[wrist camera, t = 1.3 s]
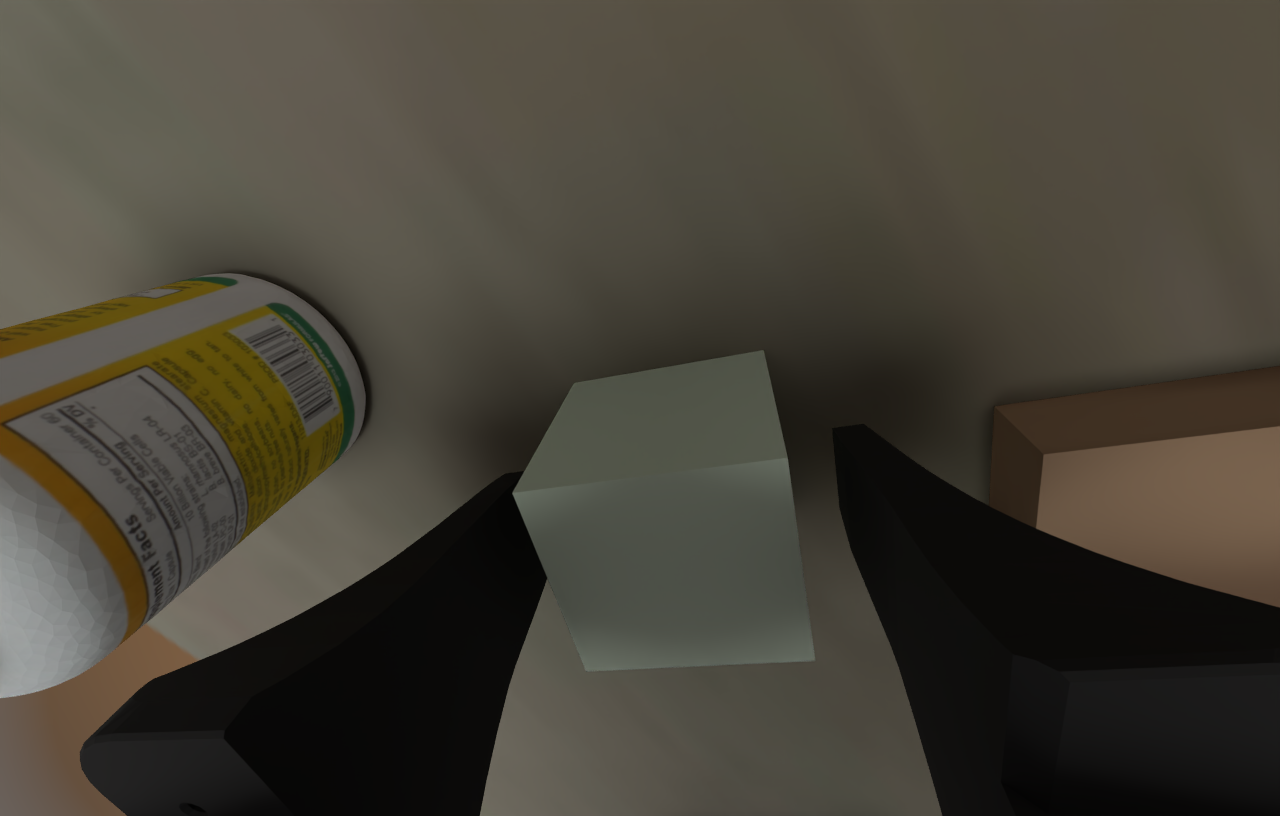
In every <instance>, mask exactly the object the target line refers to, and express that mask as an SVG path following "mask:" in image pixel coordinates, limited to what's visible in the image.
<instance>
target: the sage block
mask: <svg viewBox="0 0 1280 816" xmlns="http://www.w3.org/2000/svg"><path fill="white" fill-rule="evenodd" d="M512 494H513V496H514V498H515V501H516V503H517V506H518V508H519V510H520V513H521V515H522V518H523V520H524V523H525V525H526V527H527V530H528V532H529V535H530V537H531V539H532V542H533V544H534V547H535V549H536V552H537V554H538V556H539V559H540V561H541V564H542V566H543V568H544V571H545V573H546V576H547V578H548V581H549V583H550V585H551V588H552V590H553V593H554V595H555V597H556V600H557V602H558V605H559V607H560V609H561V612H562V614H563V617H564V619H565V622H566V624H567V626H568V629H569V631H570V634H571V636H572V638H573V641H574V643H575V646H576V648H577V651H578V653H579V655H580V658H581V660H582V663H583V665H584V667H585V670H586V672H588V671H609V670H631V669H652V668H673V667H695V666H716V665H737V664H759V663H780V662H801V661H815V655H814V647H813V640H812V633H811V625H810V618H809V611H808V603H807V596H806V589H805V581H804V574H803V567H802V559H801V552H800V545H799V537H798V530H797V523H796V515H795V508H794V501H793V493H792V486H791V479H790V471H789V464H788V457H787V453H786V448H785V444H784V439H783V435H782V430H781V426H780V421H779V417H778V412H777V408H776V403H775V399H774V394H773V390H772V385H771V381H770V376H769V372H768V367H767V363H766V358H765V354H764V350H761V351H756V352H750V353H744V354H738V355H732V356H727V357H721V358H715V359H709V360H704V361H698V362H692V363H686V364H681V365H675V366H669V367H663V368H658V369H652V370H646V371H640V372H634V373H629V374H623V375H617V376H611V377H606V378H600V379H594V380H588V381H583V382H577V383H574V384H573V386H572V387H571V389H570V391H569V393H568V395H567V396H566V398H565V400H564V402H563V403H562V405H561V407H560V409H559V411H558V412H557V414H556V416H555V418H554V420H553V421H552V423H551V425H550V427H549V428H548V430H547V432H546V434H545V436H544V437H543V439H542V441H541V443H540V444H539V446H538V448H537V450H536V452H535V453H534V455H533V457H532V459H531V461H530V462H529V464H528V466H527V468H526V469H525V471H524V473H523V475H522V477H521V478H520V480H519V482H518V484H517V485H516V487H515V489H514V491H513V493H512Z"/></svg>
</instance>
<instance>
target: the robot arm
mask: <svg viewBox="0 0 1280 816" xmlns="http://www.w3.org/2000/svg"><path fill="white" fill-rule="evenodd" d="M832 431H833V442H834V453H835V464H836V474H837V485H838V496H839V507H840V511H841V515H842V519H843V522H844V526H845V530H846V533H847V537H848V541H849V544H850V548H851V551H852V553H853V556H854V558H855V561H856V563H857V565H858V568H859V570H860V573H861V575H862V578H863V580H864V582H865V585H866V587H867V590H868V592H869V594H870V597H871V599H872V602H873V604H874V606H875V609H876V611H877V614H878V616H879V618H880V621H881V623H882V626H883V628H884V630H885V633H886V635H887V638H888V640H889V642H890V645H891V647H892V650H893V653H894V656H895V658H896V661H897V664H898V667H899V669H900V673H901V676H902V679H903V683H904V686H905V689H906V692H907V696H908V699H909V702H910V706H911V709H912V712H913V715H914V719H915V722H916V725H917V729H918V732H919V736H920V739H921V742H922V746H923V749H924V753H925V756H926V759H927V763H928V766H929V770H930V773H931V777H932V780H933V784H934V787H935V791H936V794H937V798H938V801H939V805H940V808H941V812H942V815H943V816H1280V607H1276V606H1272V605H1269V604H1265V603H1261V602H1258V601H1254V600H1250V599H1246V598H1243V597H1239V596H1235V595H1231V594H1228V593H1224V592H1220V591H1216V590H1213V589H1209V588H1205V587H1201V586H1198V585H1194V584H1190V583H1187V582H1184V581H1180V580H1177V579H1174V578H1171V577H1168V576H1165V575H1161V574H1158V573H1155V572H1152V571H1149V570H1146V569H1143V568H1140V567H1137V566H1134V565H1130V564H1127V563H1124V562H1121V561H1119V560H1116V559H1113V558H1110V557H1107V556H1105V555H1102V554H1099V553H1096V552H1093V551H1091V550H1088V549H1085V548H1083V547H1080V546H1078V545H1075V544H1073V543H1070V542H1068V541H1065V540H1063V539H1060V538H1058V537H1055V536H1053V535H1050V534H1048V533H1045V532H1043V531H1041V530H1039V529H1036V528H1034V527H1032V526H1029V525H1027V524H1025V523H1023V522H1021V521H1019V520H1017V519H1014V518H1012V517H1010V516H1008V515H1006V514H1004V513H1002V512H1000V511H998V510H996V509H994V508H992V507H990V506H988V505H986V504H984V503H982V502H980V501H978V500H976V499H975V498H973V497H971V496H969V495H967V494H966V493H964V492H962V491H961V490H959V489H957V488H956V487H954V486H952V485H950V484H949V483H947V482H945V481H944V480H942V479H940V478H939V477H937V476H936V475H934V474H933V473H931V472H929V471H928V470H926V469H925V468H924V467H922V466H921V465H919V464H918V463H916V462H915V461H913V460H912V459H910V458H909V457H908V456H906V455H905V454H903V453H902V452H901V451H899V450H898V449H897V448H895V447H894V446H892V445H891V444H890V443H888V442H887V441H886V440H885V439H883V438H882V437H881V436H879V435H878V434H877V433H875V432H874V431H873V430H871V429H870V428H868V427H867V426H866V425H864V424H859V425H852V426H845V427H838V428H832ZM523 473H524V471H522V472H515V473H508V474H504V475H503V476H501V477H500V478H498V479H496V480H495V481H494V482H492V483H491V484H489V485H488V486H487V487H485V488H484V489H483V490H481V491H480V492H479V493H478V494H476V495H475V496H474V497H473V498H471V499H470V500H469V501H468V502H466V503H465V504H464V505H463V506H461V507H460V508H459V509H457V510H456V511H455V512H454V513H452V514H451V515H450V516H449V517H447V518H446V519H445V520H444V521H442V522H441V523H440V524H439V525H437V526H436V527H435V528H433V529H432V530H431V531H429V532H428V533H427V534H425V535H424V536H423V537H421V538H420V539H419V540H417V541H416V542H415V543H413V544H412V545H410V546H409V547H408V548H406V549H405V550H404V551H402V552H401V553H400V554H398V555H397V556H395V557H394V558H393V559H391V560H390V561H388V562H387V563H385V564H384V565H382V566H381V567H379V568H378V569H376V570H375V571H373V572H372V573H370V574H368V575H367V576H365V577H364V578H362V579H361V580H359V581H357V582H356V583H354V584H353V585H351V586H349V587H348V588H346V589H344V590H342V591H341V592H339V593H337V594H335V595H333V596H332V597H330V598H328V599H326V600H324V601H323V602H321V603H319V604H317V605H315V606H314V607H312V608H310V609H308V610H307V611H305V612H303V613H301V614H299V615H297V616H295V617H294V618H292V619H290V620H288V621H286V622H284V623H282V624H280V625H277V626H275V627H273V628H271V629H269V630H267V631H265V632H263V633H261V634H259V635H257V636H255V637H252V638H250V639H248V640H246V641H244V642H242V643H240V644H237V645H235V646H233V647H230V648H228V649H226V650H224V651H221V652H219V653H217V654H214V655H212V656H209V657H207V658H204V659H202V660H199V661H197V662H195V663H192V664H190V665H187V666H185V667H182V668H180V669H178V670H175V671H173V672H170V673H168V674H165V675H162V676H160V677H157V678H155V679H153V680H151V681H150V682H148V683H147V684H146V685H144V686H143V687H142V688H140V689H139V690H138V691H137V692H136V693H135V694H134V695H133V696H132V697H131V698H130V699H129V700H128V701H127V702H126V703H125V704H123V705H122V706H121V707H120V708H119V709H118V710H117V711H116V712H115V713H114V714H113V715H112V716H111V717H110V718H109V719H108V720H107V721H106V722H105V723H104V724H103V725H102V726H101V727H100V728H99V729H98V730H97V731H96V732H95V733H94V734H93V735H91V736H90V738H88V739H87V740H86V741H85V742H84V744H83V747H82V749H81V751H80V762H81V767H82V770H83V772H84V774H85V775H86V777H87V778H88V780H89V781H90V782H91V783H92V784H93V786H94V787H95V788H96V789H98V791H99V792H100V793H101V794H102V795H104V796H105V797H106V798H107V799H108V800H109V801H111V802H112V803H113V804H114V805H115V806H117V807H118V808H119V809H120V810H121V811H123V813H125V814H126V815H127V816H480V811H481V806H482V801H483V796H484V790H485V785H486V780H487V776H488V771H489V767H490V762H491V758H492V753H493V749H494V744H495V740H496V735H497V731H498V727H499V723H500V719H501V715H502V711H503V707H504V703H505V699H506V695H507V691H508V688H509V684H510V681H511V678H512V675H513V672H514V669H515V665H516V663H517V660H518V657H519V655H520V652H521V649H522V646H523V644H524V641H525V638H526V636H527V633H528V630H529V627H530V625H531V622H532V619H533V617H534V614H535V611H536V608H537V606H538V603H539V600H540V597H541V594H542V592H543V589H544V586H545V583H546V580H547V576H546V573H545V571H544V568H543V566H542V564H541V561H540V559H539V556H538V554H537V552H536V549H535V547H534V544H533V542H532V539H531V537H530V535H529V532H528V530H527V527H526V525H525V523H524V520H523V518H522V515H521V513H520V510H519V508H518V506H517V503H516V501H515V498H514V496H513V494H512V493H513V491H514V489H515V487H516V485H517V484H518V482H519V480H520V478H521V477H522V475H523Z"/></svg>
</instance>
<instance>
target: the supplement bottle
mask: <svg viewBox="0 0 1280 816" xmlns="http://www.w3.org/2000/svg"><path fill="white" fill-rule="evenodd" d="M365 403H366V394H365V389H364V384H363V380H362V377H361V374H360V370H359V367H358V365H357V363H356V361H355V358H354V356H353V355H352V353H351V351H350V349H349V347H348V346H347V344H346V343H345V341H344V340H343V338H342V337H341V335H340V334H339V333H338V332H337V331H336V330H335V328H334V327H333V326H332V325H331V324H330V323H329V322H328V321H327V320H326V319H325V318H324V317H323V316H322V315H321V314H320V313H319V312H318V311H317V310H316V309H314V308H313V307H312V306H311V305H309V304H308V303H307V302H305V301H304V300H303V299H301V298H299V297H298V296H296V295H295V294H293V293H291V292H289V291H288V290H286V289H284V288H282V287H280V286H277V285H275V284H273V283H270V282H267V281H265V280H262V279H258V278H254V277H250V276H246V275H242V274H233V273H224V274H211V275H204V276H200V277H196V278H192V279H188V280H183V281H179V282H175V283H172V284H169V285H165V286H161V287H157V288H153V289H150V290H146V291H142V292H138V293H135V294H131V295H127V296H123V297H119V298H116V299H112V300H108V301H105V302H101V303H98V304H94V305H91V306H87V307H83V308H80V309H76V310H72V311H68V312H64V313H60V314H56V315H52V316H48V317H45V318H41V319H37V320H33V321H29V322H26V323H22V324H18V325H15V326H11V327H7V328H4V329H0V698H4V697H13V696H19V695H24V694H29V693H32V692H37V691H41V690H44V689H47V688H49V687H53V686H56V685H58V684H60V683H63V682H64V681H67V680H69V679H71V678H73V677H76V676H78V675H79V674H81V673H83V672H84V671H86V670H87V669H89V668H91V667H92V666H94V665H95V664H97V663H98V662H99V661H101V660H102V659H103V658H105V657H106V656H107V655H108V654H110V653H111V652H112V651H113V650H114V649H115V648H117V647H118V646H119V645H120V644H122V643H123V642H124V641H125V640H126V639H128V638H129V637H130V636H131V635H132V634H133V633H135V632H136V631H137V630H138V629H139V628H141V627H142V626H143V625H144V624H145V623H147V622H148V621H149V620H150V619H152V618H153V617H154V616H155V615H156V614H158V613H159V612H160V611H161V610H162V609H163V608H164V607H165V606H167V605H168V604H169V603H170V602H171V601H172V600H174V599H175V598H176V597H177V596H178V595H179V594H180V593H182V592H183V591H184V590H185V589H187V588H188V587H189V586H190V585H191V584H193V583H194V582H195V581H196V580H197V579H198V578H199V577H201V576H202V575H203V574H204V573H206V572H207V571H208V570H209V569H210V568H211V567H212V566H214V565H215V564H216V563H217V562H218V561H219V560H220V559H221V558H223V557H224V556H225V555H226V554H227V553H228V552H230V551H231V550H232V549H233V548H234V547H235V546H236V545H238V544H239V543H240V542H241V541H242V540H243V539H245V538H246V537H247V536H248V535H249V534H250V533H252V532H253V531H254V530H255V529H256V528H257V527H259V526H260V525H261V524H262V523H263V522H265V521H266V520H267V519H268V518H269V517H271V516H272V515H273V514H274V513H275V512H276V511H278V510H279V509H280V508H281V507H282V506H283V505H285V504H286V503H287V502H288V501H289V500H290V499H292V498H293V497H294V496H295V495H296V494H297V493H299V492H300V491H301V490H302V489H304V488H305V487H306V486H307V485H308V484H309V483H310V482H312V481H313V480H314V479H315V478H316V477H318V476H319V475H320V474H321V473H322V472H324V471H325V470H326V469H327V468H328V467H329V466H331V465H332V464H333V463H334V462H335V461H337V460H338V459H339V458H340V457H341V456H342V455H343V454H344V453H345V452H346V451H347V450H348V449H349V448H350V447H351V446H352V444H353V443H354V442H355V440H356V439H357V437H358V435H359V433H360V430H361V427H362V424H363V420H364V413H365Z"/></svg>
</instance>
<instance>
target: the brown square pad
mask: <svg viewBox="0 0 1280 816" xmlns="http://www.w3.org/2000/svg"><path fill="white" fill-rule="evenodd" d="M989 506H990V507H992V508H994V509H996V510H998V511H1000V512H1002V513H1004V514H1006V515H1008V516H1010V517H1012V518H1014V519H1017V520H1019V521H1021V522H1023V523H1025V524H1027V525H1029V526H1032V527H1034V528H1036V529H1039V530H1041V531H1043V532H1045V533H1048V534H1050V535H1053V536H1055V537H1058V538H1060V539H1063V540H1065V541H1068V542H1070V543H1073V544H1075V545H1078V546H1080V547H1083V548H1085V549H1088V550H1091V551H1093V552H1096V553H1099V554H1102V555H1105V556H1107V557H1110V558H1113V559H1116V560H1119V561H1121V562H1124V563H1127V564H1130V565H1134V566H1137V567H1140V568H1143V569H1146V570H1149V571H1152V572H1155V573H1158V574H1161V575H1165V576H1168V577H1171V578H1174V579H1177V580H1180V581H1184V582H1187V583H1190V584H1194V585H1198V586H1201V587H1205V588H1209V589H1213V590H1216V591H1220V592H1224V593H1228V594H1231V595H1235V596H1239V597H1243V598H1246V599H1250V600H1254V601H1258V602H1261V603H1265V604H1269V605H1272V606H1276V607H1280V366H1276V367H1269V368H1262V369H1255V370H1248V371H1241V372H1234V373H1226V374H1219V375H1212V376H1205V377H1198V378H1191V379H1184V380H1177V381H1170V382H1163V383H1155V384H1148V385H1141V386H1134V387H1127V388H1120V389H1113V390H1106V391H1099V392H1092V393H1085V394H1077V395H1070V396H1063V397H1056V398H1049V399H1042V400H1035V401H1028V402H1021V403H1014V404H1006V405H999V406H994V420H993V439H992V457H991V476H990V494H989Z"/></svg>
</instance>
